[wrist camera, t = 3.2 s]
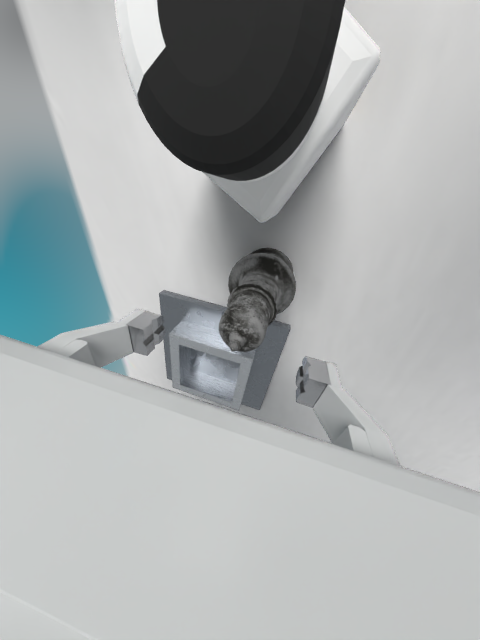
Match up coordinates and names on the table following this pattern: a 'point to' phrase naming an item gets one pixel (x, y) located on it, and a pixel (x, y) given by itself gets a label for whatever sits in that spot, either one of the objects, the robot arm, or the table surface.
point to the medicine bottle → (246, 86)
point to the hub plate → (215, 354)
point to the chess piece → (256, 298)
